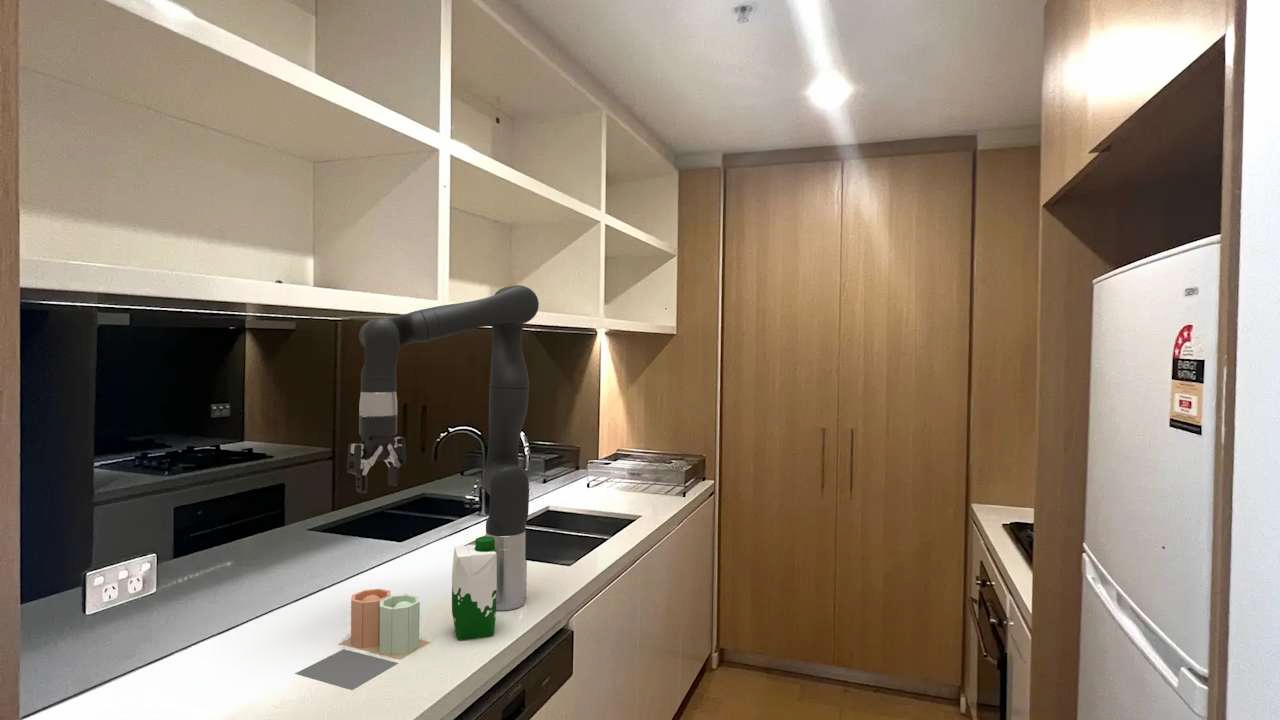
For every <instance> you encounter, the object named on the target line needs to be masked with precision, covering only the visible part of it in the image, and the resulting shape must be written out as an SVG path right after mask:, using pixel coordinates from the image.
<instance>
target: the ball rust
mask: <svg viewBox="0 0 1280 720" xmlns="http://www.w3.org/2000/svg"><path fill="white" fill-rule="evenodd" d="M379 599H381V598H380V597H378V596H376V595H369V596H367V597H365V598H364V599H363V600H362V601H364V602H365V601H373V600H379Z"/></svg>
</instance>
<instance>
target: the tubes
mask: <svg viewBox="0 0 1280 720" xmlns="http://www.w3.org/2000/svg"><path fill="white" fill-rule="evenodd" d="M369 595H376V596H378V597H380V598H381V599H379V600H373V601H365V602H364V601H362V600H363V599H364V598H365V597H367V596H369ZM402 601H408V602H410V603H412V604H410V605H408V606H404V607H395V608H394V606H395V605H396V604H397V603H399V602H402ZM420 602H421V601H420V597H419V596H417V595H413V594H407V593H405V594H397V595H392V593H391V590H388V589H383V588H374V589H373V588H372V589H365V590H361V591H358V592H356V593H354V594H352V595H351V600H350V637H349V638H348V639H346V640H344V641H341V642H339V643H338V645H341V646H346V647H349V648H352V649H357V650H361V651H365V652H368V653H371V654H377V655H380V656H385V657H389V658H393V659H396V660H400V661H401V660H402V659H404V658H406V657H408V656H409V655H412V653H414V652H416V651H418V650H420V649H422V648H424V647H425V646H427V645H428V644H430V643H431V641H427V640H423V639H420V620H421V619H420V613H421V612H420V611H421V610H420V608H421V603H420Z"/></svg>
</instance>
